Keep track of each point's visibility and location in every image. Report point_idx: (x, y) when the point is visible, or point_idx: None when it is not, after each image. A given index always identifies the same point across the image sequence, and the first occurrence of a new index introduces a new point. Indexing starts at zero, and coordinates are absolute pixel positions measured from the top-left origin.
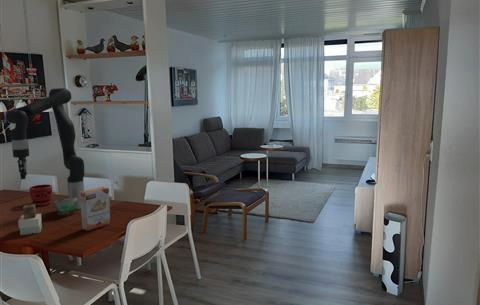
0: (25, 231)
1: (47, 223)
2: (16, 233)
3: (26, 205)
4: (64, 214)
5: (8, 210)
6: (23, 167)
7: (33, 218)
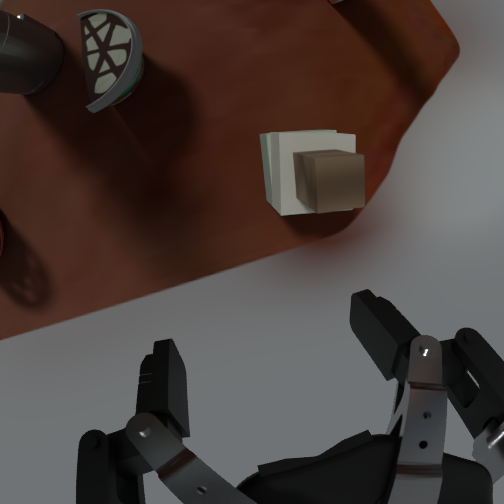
0: None
1: (222, 119)
2: None
3: (327, 200)
4: (143, 68)
5: (49, 314)
6: (499, 366)
7: None
